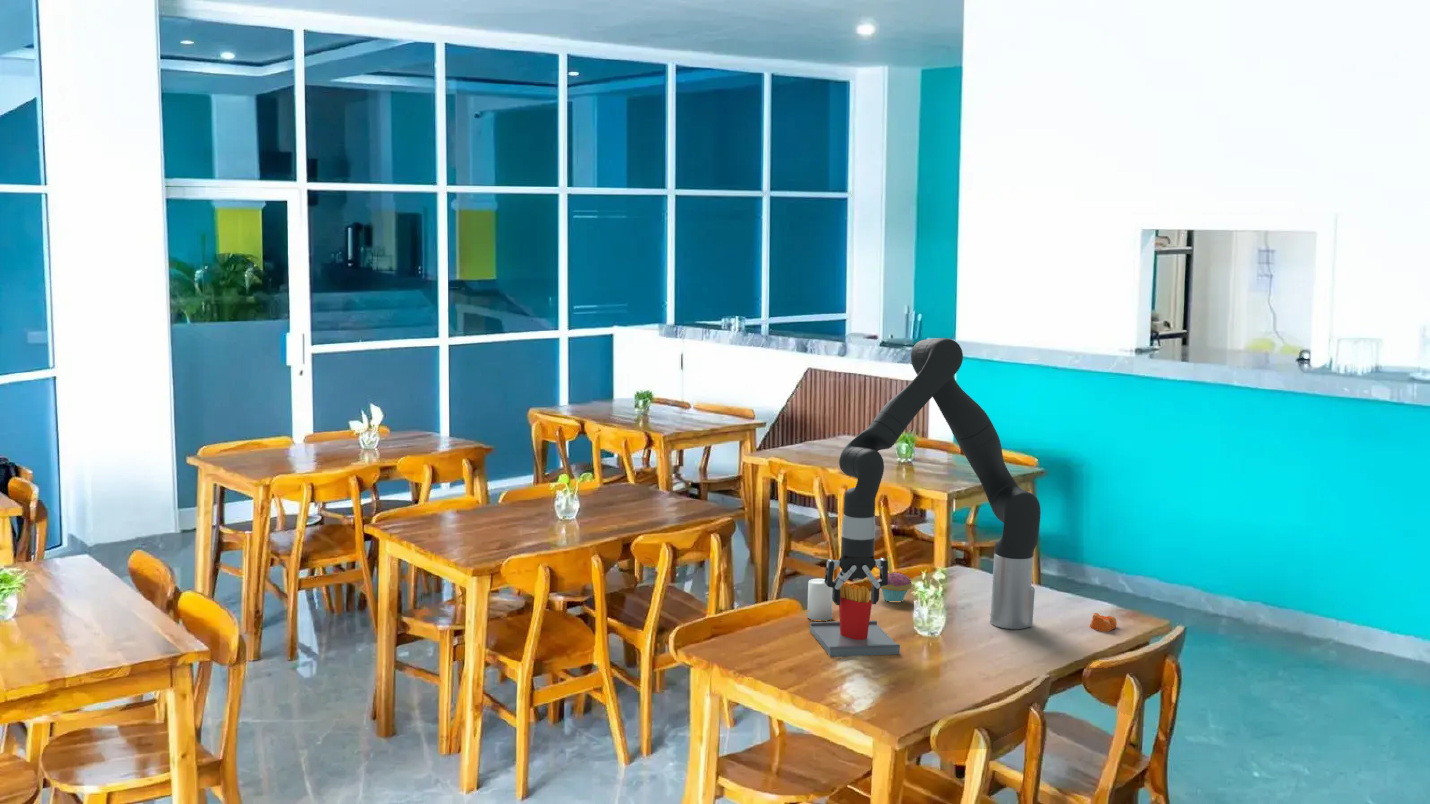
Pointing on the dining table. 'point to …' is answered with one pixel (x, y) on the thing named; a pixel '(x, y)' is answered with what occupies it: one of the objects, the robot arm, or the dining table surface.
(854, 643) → the slate board
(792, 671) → the dining table surface
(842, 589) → the french fries
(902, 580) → the cupcake
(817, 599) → the white rounded cylinder
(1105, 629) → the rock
